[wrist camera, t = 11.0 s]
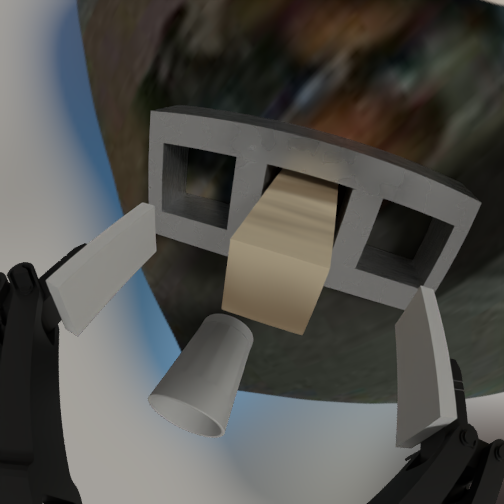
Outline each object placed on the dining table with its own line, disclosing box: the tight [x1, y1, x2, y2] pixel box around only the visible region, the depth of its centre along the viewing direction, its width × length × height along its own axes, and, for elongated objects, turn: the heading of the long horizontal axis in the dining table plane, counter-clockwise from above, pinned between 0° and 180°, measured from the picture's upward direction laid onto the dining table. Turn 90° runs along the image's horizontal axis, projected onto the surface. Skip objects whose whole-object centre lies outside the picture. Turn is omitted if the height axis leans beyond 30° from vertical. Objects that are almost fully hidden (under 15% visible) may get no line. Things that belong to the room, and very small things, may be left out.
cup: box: [148, 314, 253, 438], centre depth 29 cm, size 8×8×12 cm
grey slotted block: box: [149, 105, 481, 310], centre depth 20 cm, size 10×23×4 cm, turn 80°
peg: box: [222, 168, 338, 335], centre depth 17 cm, size 4×4×12 cm
